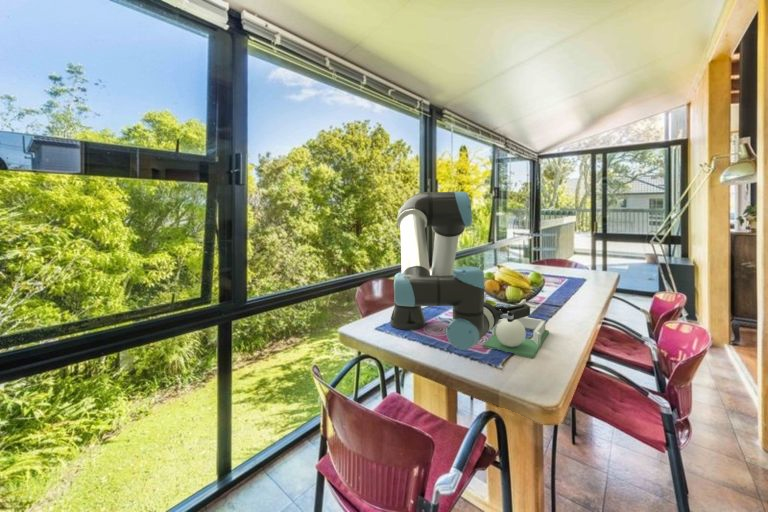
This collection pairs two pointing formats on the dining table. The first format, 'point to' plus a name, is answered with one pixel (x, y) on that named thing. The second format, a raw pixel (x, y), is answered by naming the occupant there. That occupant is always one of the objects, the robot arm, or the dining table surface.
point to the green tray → (528, 345)
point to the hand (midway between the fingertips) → (503, 300)
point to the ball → (510, 333)
